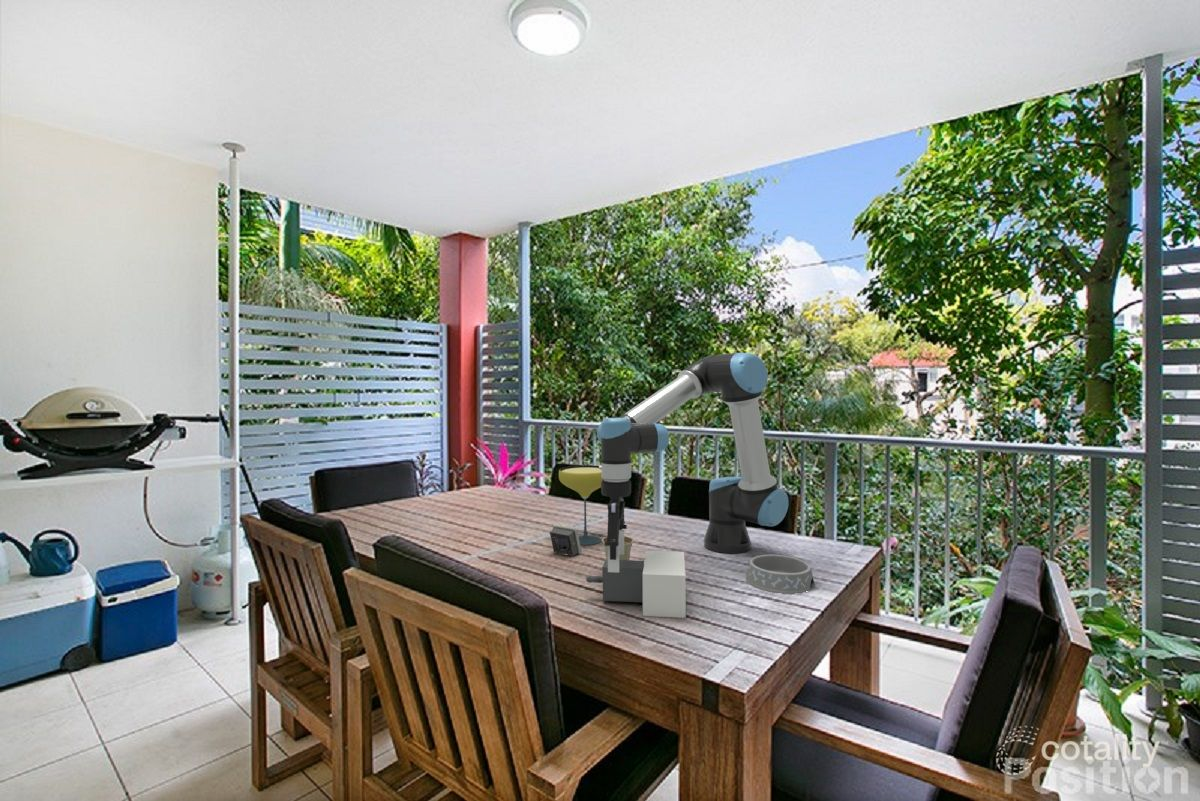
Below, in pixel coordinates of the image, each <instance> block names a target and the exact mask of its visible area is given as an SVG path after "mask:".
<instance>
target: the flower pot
mask: <svg viewBox="0 0 1200 801" xmlns="http://www.w3.org/2000/svg"><path fill="white" fill-rule="evenodd" d="M611 540H614V539H611ZM601 542H602V543H603V544H602V545H603V547H604V552H605V553H604V555H605V560H608V546H605V542H607V536H605V537H603V538H602V539H601ZM633 543H635V542H634V538H632V537H631V536H627V535H626V536H625V535H624V555H619V560H630V559H631V558H630V557H631V550H632V547H633Z"/></svg>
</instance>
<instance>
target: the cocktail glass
mask: <svg viewBox="0 0 1200 801" xmlns="http://www.w3.org/2000/svg"><path fill="white" fill-rule="evenodd" d="M599 466H600V465H592V464H590V465H585V464H583V465H571V466H565V467H562V468H560V469H558V480H559V481H560V483H561V484H562V485H564V486H565V487H567V488H569V489H571V490H572V491H575V492H576V493H578V494H579V496H580V497H581V498H582V499H583V502H584V511H583V512H584V513H583V514H584V515H583V516H584V518H583V520H584V523H583V526H584V527H583V528H584V529H583V534H582V535H578V536H579V541H580V546H592V544H594V545H596V544H600V543H601V542H602V539H601V538H600V537H598V536H595V535H589V534H588V528H587V499H588V498H590V495H592V493H593V492H595V491H596V490H599V489H601V481H602V480H603V478H602V477H601V471H602V470H600V469H599ZM599 542H600V543H599Z"/></svg>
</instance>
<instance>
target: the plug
mask: <svg viewBox="0 0 1200 801" xmlns="http://www.w3.org/2000/svg"><path fill="white" fill-rule="evenodd" d="M644 561H645V560H630V559H629V560H619V573H617V572H608V560H606V559H604V562H603V565H602V567H601V568H602V571H601V572H602V574H601V575H602V576H601V575H600V576H599V575H588V576H586V579H585V580H586V583H596V584H597V583H598V584H602V601H603V602H604V601H605V602H623V603H625V602H626V603H643V568H644Z"/></svg>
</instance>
